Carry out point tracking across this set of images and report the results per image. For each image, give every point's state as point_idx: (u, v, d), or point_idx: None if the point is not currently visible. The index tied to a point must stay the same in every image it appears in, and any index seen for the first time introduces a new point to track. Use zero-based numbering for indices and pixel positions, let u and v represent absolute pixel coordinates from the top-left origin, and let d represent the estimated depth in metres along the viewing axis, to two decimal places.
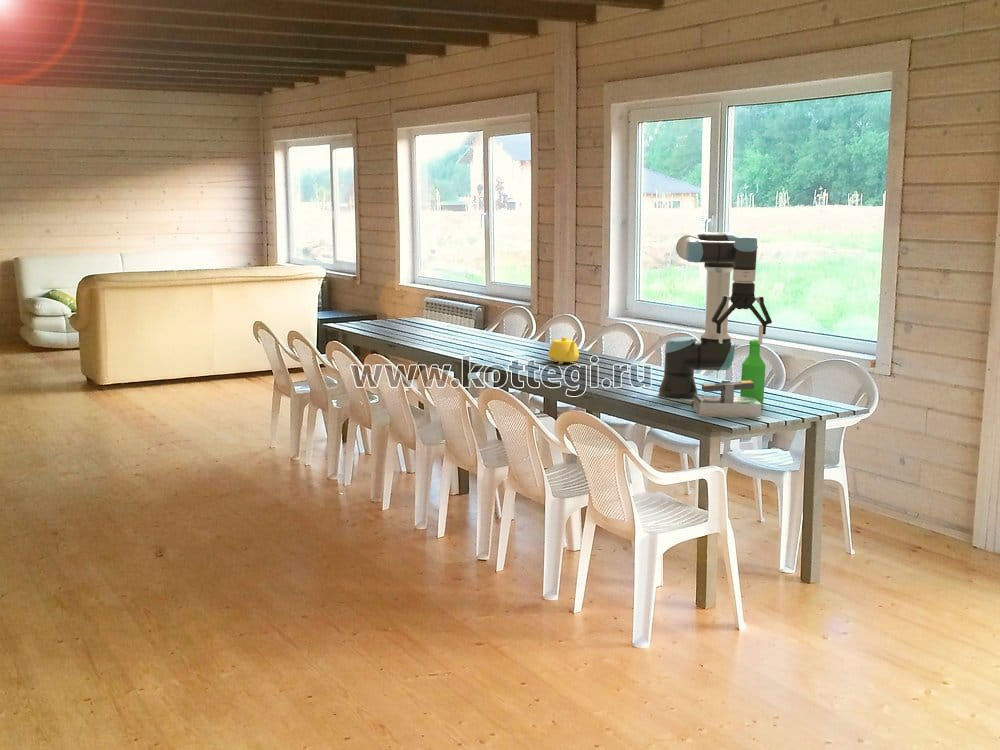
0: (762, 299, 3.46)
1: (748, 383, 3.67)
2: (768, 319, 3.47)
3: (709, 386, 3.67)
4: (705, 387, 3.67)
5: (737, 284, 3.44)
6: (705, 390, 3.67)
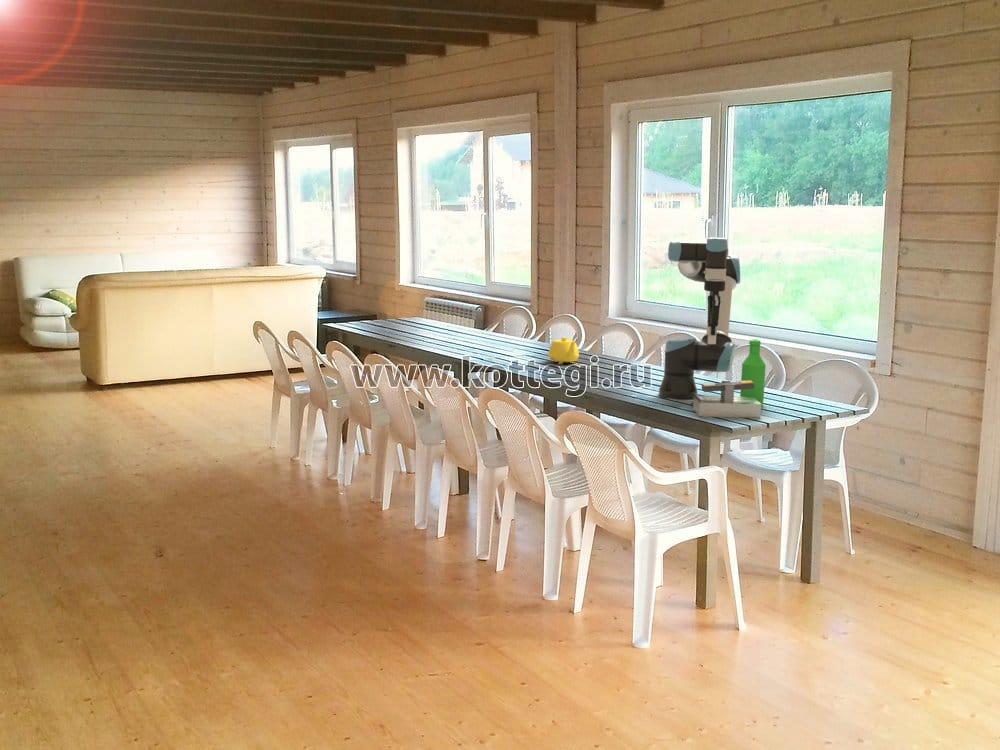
0: (713, 302, 3.68)
1: (748, 383, 3.67)
2: (711, 321, 3.71)
3: (709, 386, 3.67)
4: (705, 387, 3.67)
5: None
6: (705, 390, 3.67)
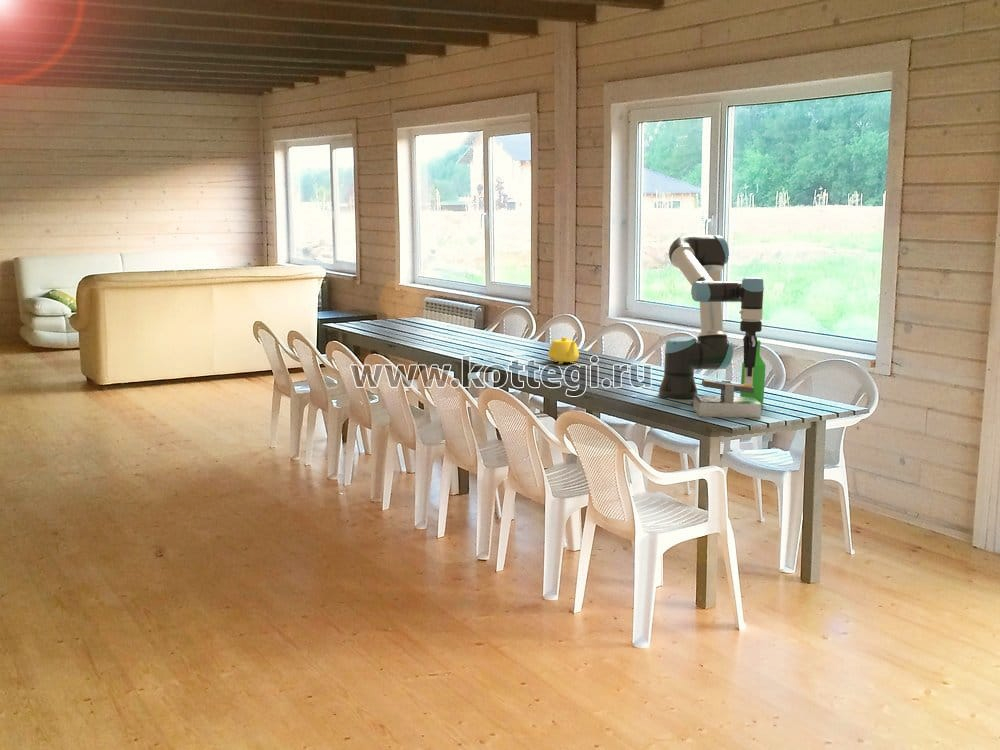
0: (750, 344, 3.61)
1: (748, 387, 3.67)
2: (748, 362, 3.64)
3: (710, 382, 3.67)
4: (706, 382, 3.67)
5: None
6: (705, 385, 3.67)
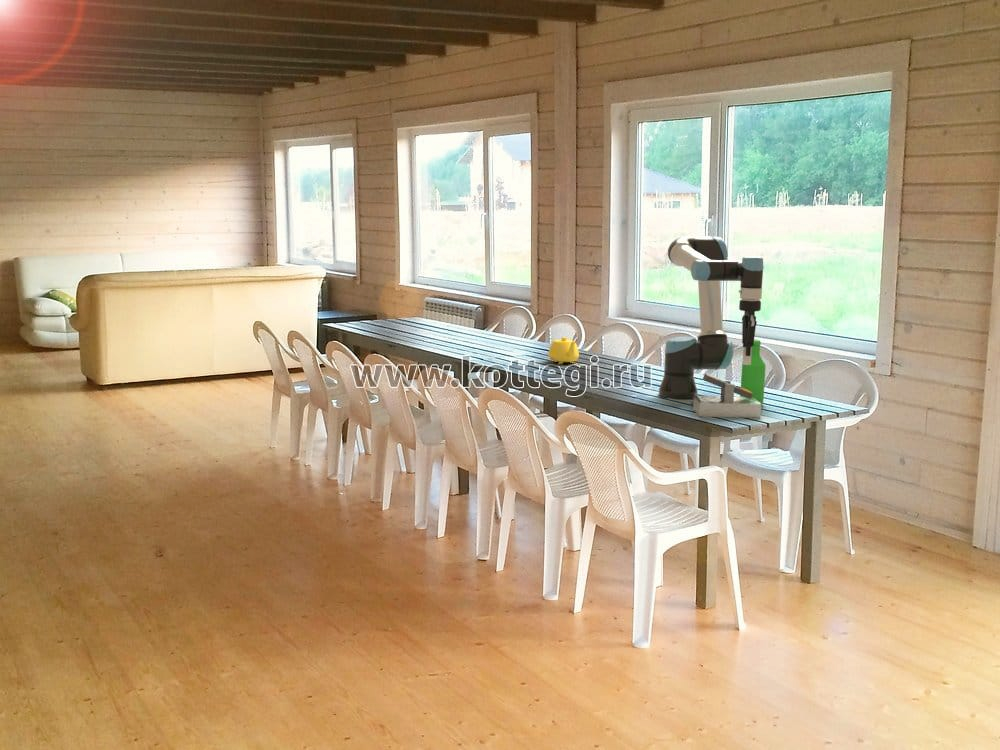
0: (749, 323, 3.60)
1: (747, 392, 3.67)
2: (746, 341, 3.63)
3: (712, 378, 3.67)
4: (708, 377, 3.66)
5: None
6: (706, 380, 3.67)
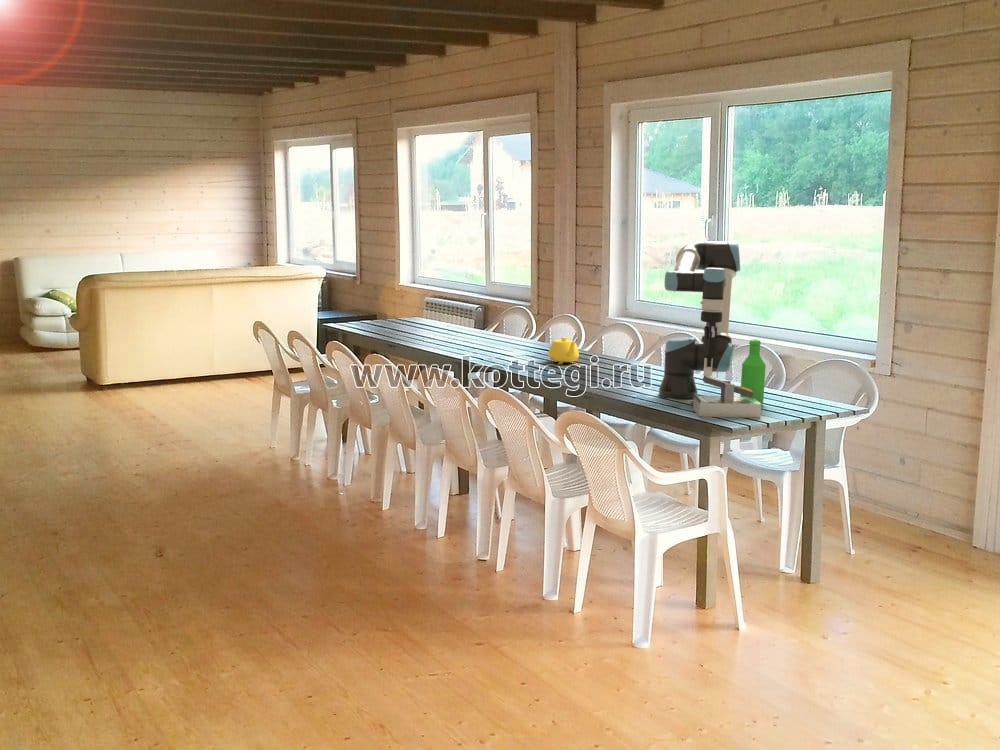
0: (709, 334, 3.61)
1: (748, 390, 3.67)
2: (707, 352, 3.64)
3: (711, 379, 3.67)
4: (707, 378, 3.67)
5: None
6: (706, 381, 3.67)
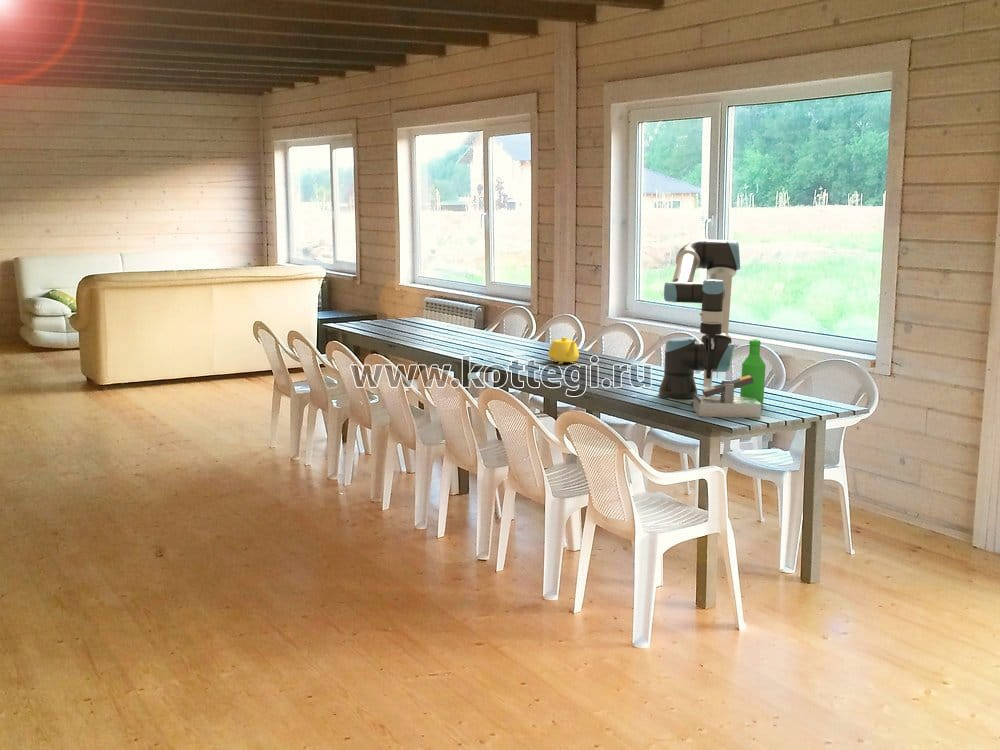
0: (709, 346, 3.61)
1: (747, 379, 3.66)
2: (706, 364, 3.65)
3: (709, 391, 3.67)
4: (705, 392, 3.67)
5: None
6: (706, 395, 3.68)
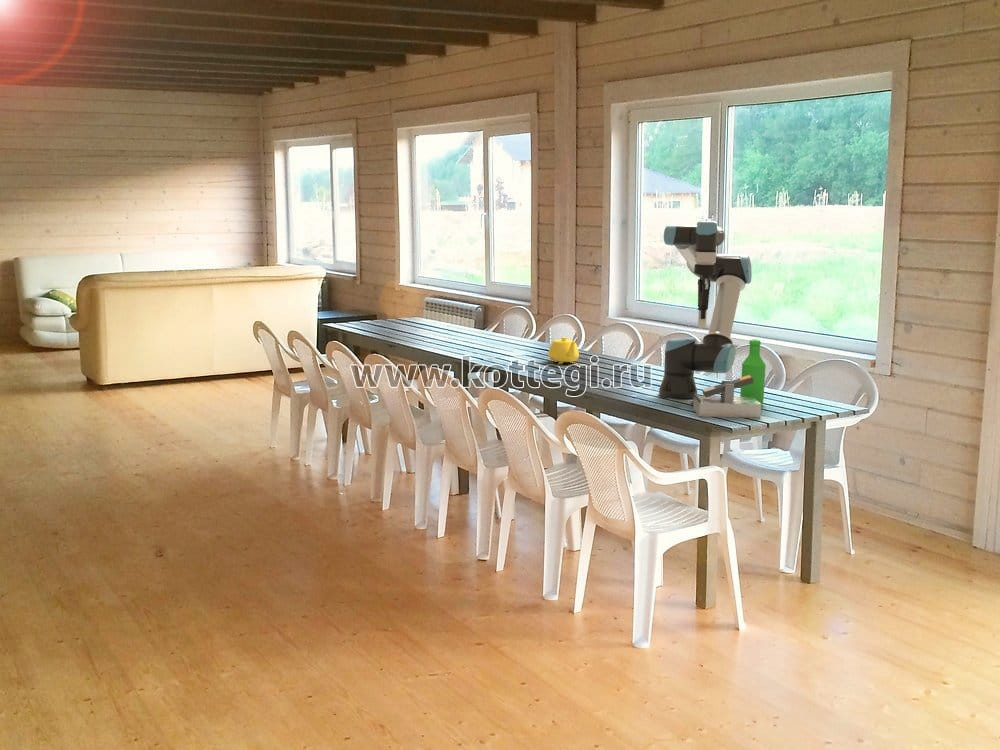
0: (703, 286, 3.67)
1: (747, 379, 3.66)
2: (701, 304, 3.70)
3: (709, 391, 3.67)
4: (705, 392, 3.67)
5: None
6: (706, 395, 3.68)
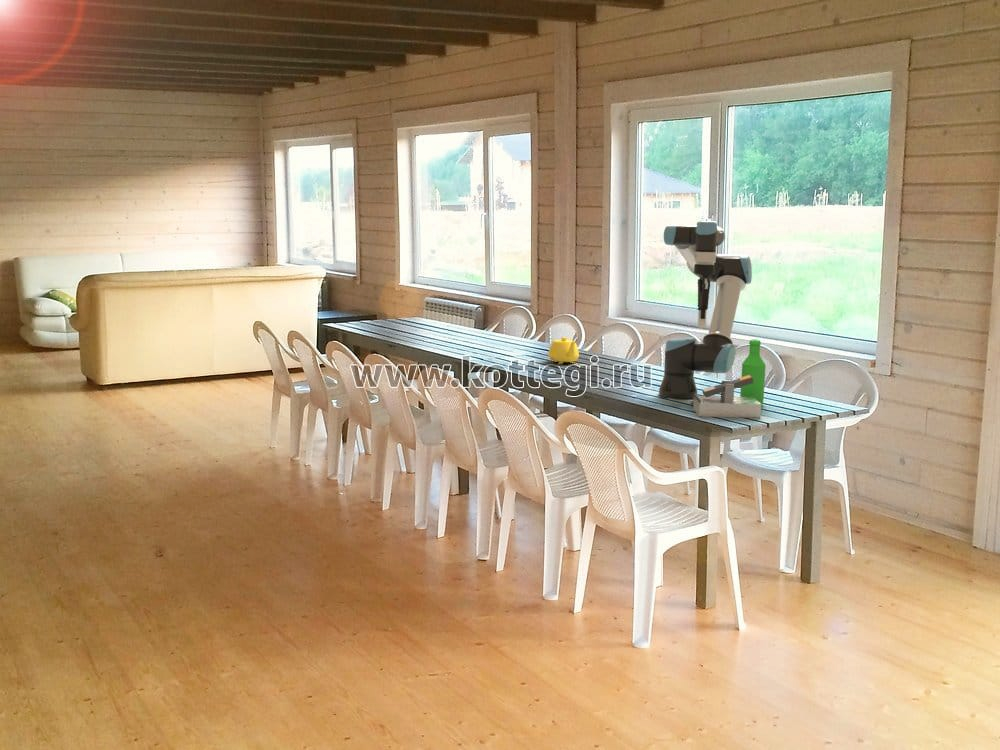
0: (703, 286, 3.67)
1: (747, 379, 3.66)
2: (701, 304, 3.70)
3: (709, 391, 3.67)
4: (705, 392, 3.67)
5: None
6: (706, 395, 3.68)
